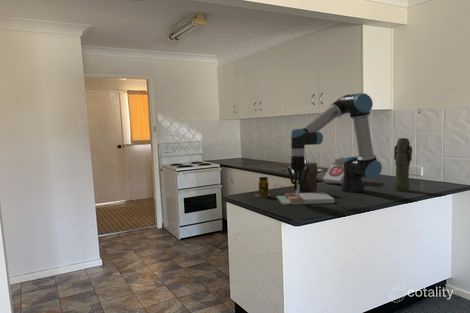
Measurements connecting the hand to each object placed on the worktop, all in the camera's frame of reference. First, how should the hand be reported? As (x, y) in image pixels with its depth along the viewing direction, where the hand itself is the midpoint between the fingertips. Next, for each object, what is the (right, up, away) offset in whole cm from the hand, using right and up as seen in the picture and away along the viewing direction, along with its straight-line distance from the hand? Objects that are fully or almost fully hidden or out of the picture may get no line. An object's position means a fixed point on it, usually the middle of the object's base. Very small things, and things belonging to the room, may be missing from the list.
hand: (297, 195), depth 205 cm
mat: (-4, -4, +5) cm, 7 cm away
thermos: (+76, 0, +31) cm, 81 cm away
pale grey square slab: (+11, -3, +6) cm, 13 cm away
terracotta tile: (-1, -3, 0) cm, 3 cm away
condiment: (-19, -3, +21) cm, 28 cm away
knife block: (+12, -2, +25) cm, 27 cm away
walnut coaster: (-2, -2, +9) cm, 10 cm away
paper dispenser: (+46, +3, +64) cm, 79 cm away
